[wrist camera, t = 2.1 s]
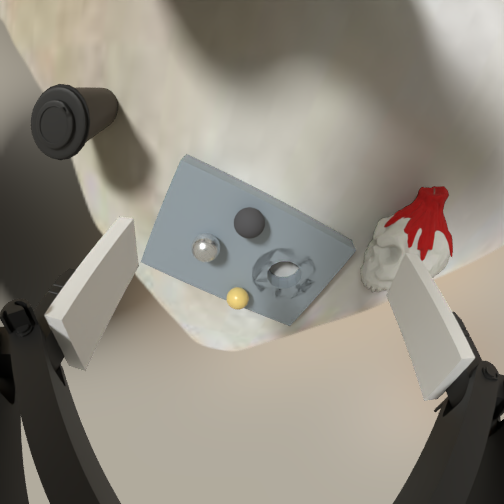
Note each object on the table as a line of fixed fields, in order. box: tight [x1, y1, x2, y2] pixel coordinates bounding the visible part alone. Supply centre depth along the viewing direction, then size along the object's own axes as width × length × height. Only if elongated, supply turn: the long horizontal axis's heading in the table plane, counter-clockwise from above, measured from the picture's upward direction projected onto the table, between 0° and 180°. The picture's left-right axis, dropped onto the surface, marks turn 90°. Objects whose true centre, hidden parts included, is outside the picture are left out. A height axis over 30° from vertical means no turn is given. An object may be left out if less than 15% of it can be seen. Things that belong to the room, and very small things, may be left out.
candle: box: [361, 186, 453, 292], centre depth 34 cm, size 9×11×15 cm
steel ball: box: [191, 233, 220, 262], centre depth 36 cm, size 4×4×4 cm
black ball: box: [234, 207, 265, 239], centre depth 34 cm, size 4×4×4 cm
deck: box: [141, 154, 356, 326], centre depth 39 cm, size 24×16×2 cm, turn 62°
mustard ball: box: [227, 287, 249, 309], centre depth 40 cm, size 3×3×3 cm
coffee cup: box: [31, 84, 118, 160], centre depth 26 cm, size 8×8×10 cm
